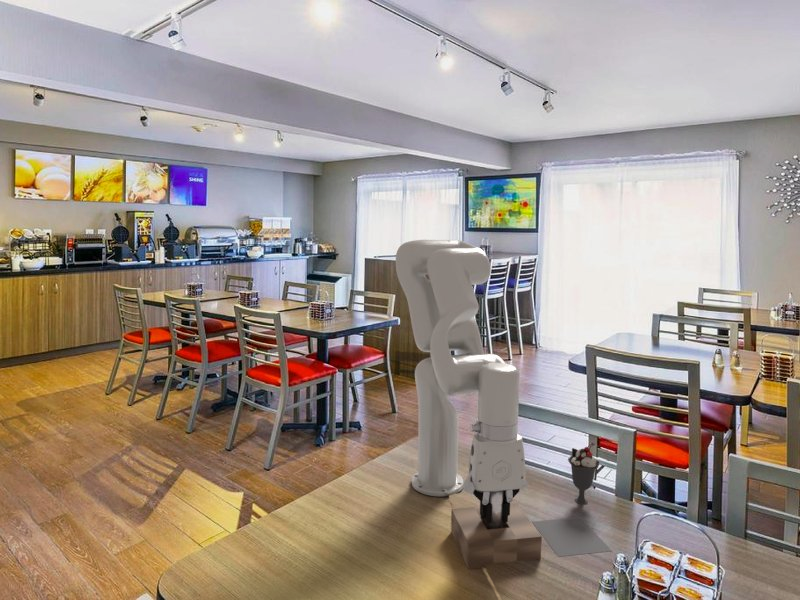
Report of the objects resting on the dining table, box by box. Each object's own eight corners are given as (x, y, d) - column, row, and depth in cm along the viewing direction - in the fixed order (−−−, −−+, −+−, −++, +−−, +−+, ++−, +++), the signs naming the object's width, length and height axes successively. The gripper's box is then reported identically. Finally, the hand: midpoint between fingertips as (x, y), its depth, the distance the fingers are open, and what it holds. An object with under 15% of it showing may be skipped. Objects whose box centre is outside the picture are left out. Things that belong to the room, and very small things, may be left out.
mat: (531, 524, 110) (531, 521, 110) (580, 519, 112) (580, 517, 112) (558, 559, 98) (558, 556, 98) (611, 553, 100) (612, 550, 100)
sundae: (599, 513, 115) (603, 447, 113) (567, 509, 116) (570, 445, 114) (594, 498, 121) (598, 436, 119) (564, 495, 122) (567, 433, 120)
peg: (484, 530, 103) (485, 482, 102) (498, 529, 104) (500, 481, 103) (489, 539, 100) (490, 490, 99) (504, 537, 101) (506, 489, 100)
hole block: (451, 531, 107) (451, 508, 107) (515, 525, 110) (516, 503, 109) (468, 569, 96) (469, 543, 95) (540, 561, 98) (541, 536, 97)
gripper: (461, 439, 94) (459, 534, 97) (546, 433, 97) (542, 526, 100) (450, 424, 102) (449, 512, 104) (529, 419, 104) (526, 506, 107)
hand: (494, 518), depth 102 cm, fingers closed on peg, 2 cm apart
